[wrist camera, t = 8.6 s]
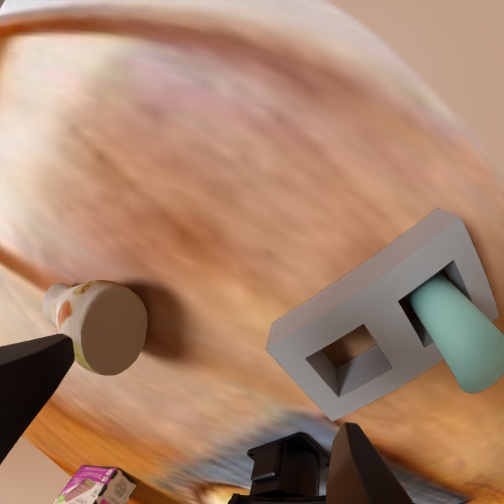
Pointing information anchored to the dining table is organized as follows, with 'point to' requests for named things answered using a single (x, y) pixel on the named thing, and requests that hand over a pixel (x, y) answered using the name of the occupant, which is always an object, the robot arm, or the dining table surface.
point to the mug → (99, 323)
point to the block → (378, 317)
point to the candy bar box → (97, 487)
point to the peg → (460, 333)
